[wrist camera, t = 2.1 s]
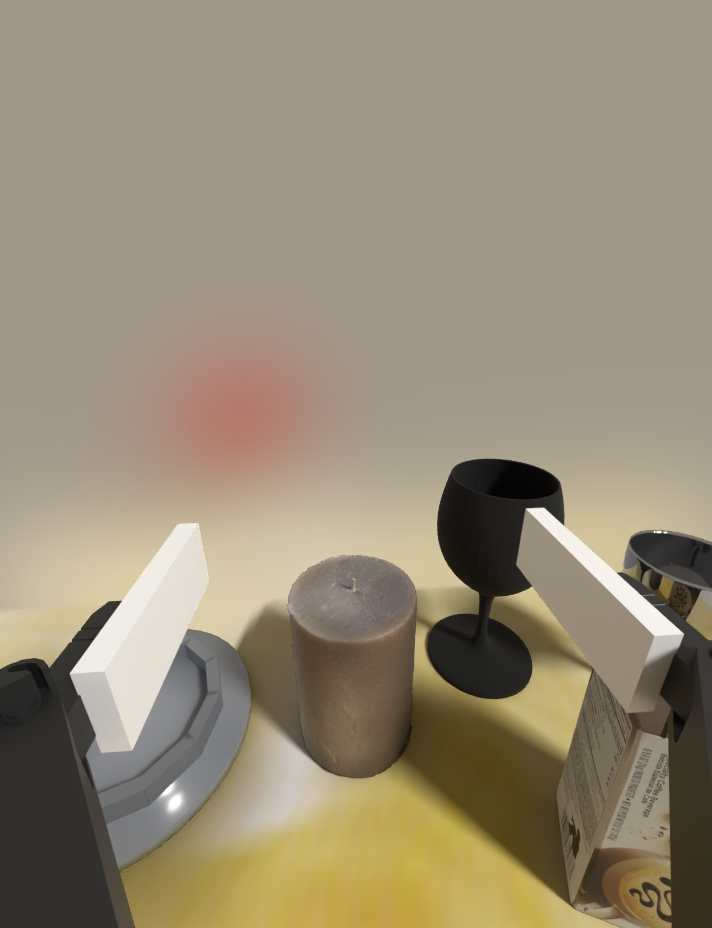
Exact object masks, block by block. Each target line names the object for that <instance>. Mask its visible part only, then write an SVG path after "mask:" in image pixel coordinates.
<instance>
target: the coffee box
mask: <svg viewBox="0 0 712 928" xmlns="http://www.w3.org/2000/svg"><path fill="white" fill-rule="evenodd" d="M670 710H671V707H670V705H669V704H668V703H667V702H666V701H665V700H664V698H663V697H662V696H661V695H660V697H659V699H658V702H657V704H656V707H655V709H654V711H649V712H636V713H627V712H626V711H625V710H624V708H623V707H622V706H621V704H620V703H619V702H618V700H617V699H616V698H615V696H614V695H613V694H612V692H611V691H610V690H609V688H608V687H607V686H606V684H605V683H604V682H603V680H602V679H601V678H600V676H599V675H598V674H597V672H596V671H595V670H594V668H593V669H592V673H591V676H590V680H589V683H588V686H587V690H586V693H585V697H584V700H583V704H582V707H581V710H580V714H579V718H578V721H577V725H576V728H575V731H574V735H573V738H572V742H571V745H570V749H569V752H568V756H567V759H566V763H565V766H564V770H563V773H562V776H561V779H560V783H559V786H558V789H557V792H556V799H557V806H558V814H559V822H560V830H561V837H562V845H563V852H564V860H565V867H566V874H567V882H568V889H569V897H570V902H571V904H572V906H573V907H574V908H575V909H576V910H579V911H581V912H584V913H586V914H589V915H591V916H594V917H596V918H599V919H601V920H604V921H607V922H609V923H612V924H614V925H617V926H619V927H622V928H672V924H671V868H670V812H669V756H668V733H667V736H666V738H665V739H664V738H662V737H660V735H661V732H662V729H663V727H664V724H665V722H666V720H667V717H668V715H669V712H670Z"/></svg>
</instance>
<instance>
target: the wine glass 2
mask: <svg viewBox="0 0 712 928" xmlns="http://www.w3.org/2000/svg"><path fill="white" fill-rule="evenodd" d="M622 572H624V573H625V574H627V575H629V576H631V577H633V578H634V579H636V580H638V581H640V582H641V583H642V584H644V585H645V586H646V587H647V588H648V589H649V590H651V591H652V592H653V593H654V595H655V596H658V597H659V598H660V599H661V600H662V601H663V602H665V605H666V606H669V607H670V608H672V609H673V610H674V611H675V612H676V613H677V614H679V615H680V616H681V617H682V618H683V619H684V620H686V621H687V622H688V623H689V624H690V625H691V626H693V627H694V628H695V629H696V630H697V631H698V632H700V633H701V634H702V635H703V636H704V637H705V638H706V639H708V640H712V542H710V541H707V540H704V539H701V538H698V537H695V536H691V535H687V534H683V533H678V532H672V531H664V530H646V531H640V532H638V533H635V534H634V535H632V536H631V538H630V540H629V543H628V546H627V549H626V552H625V557H624V561H623V566H622Z"/></svg>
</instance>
